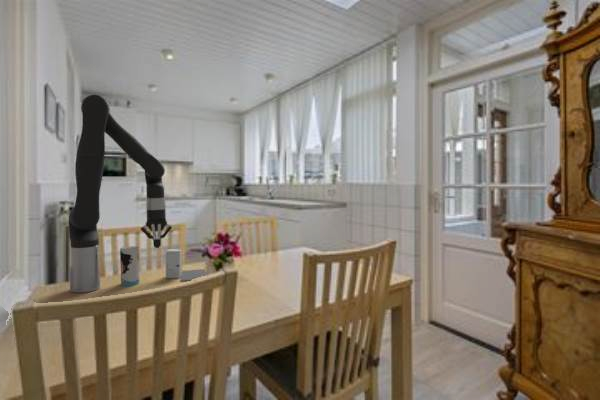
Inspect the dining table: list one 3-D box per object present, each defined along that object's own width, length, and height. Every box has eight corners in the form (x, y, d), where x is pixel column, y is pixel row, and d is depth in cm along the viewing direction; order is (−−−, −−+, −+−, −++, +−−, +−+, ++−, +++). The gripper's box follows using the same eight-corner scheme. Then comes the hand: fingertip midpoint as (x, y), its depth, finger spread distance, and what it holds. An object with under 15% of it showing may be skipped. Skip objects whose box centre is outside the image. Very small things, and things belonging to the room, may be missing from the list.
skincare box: (165, 278, 144) (164, 251, 144) (167, 275, 149) (167, 249, 148) (180, 278, 145) (179, 250, 145) (182, 275, 150) (181, 248, 149)
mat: (181, 281, 140) (181, 280, 140) (182, 271, 156) (182, 270, 156) (210, 279, 144) (210, 278, 144) (208, 269, 159) (208, 268, 159)
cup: (134, 280, 142) (134, 245, 141) (142, 283, 138) (141, 247, 137) (118, 283, 137) (117, 248, 136) (125, 287, 132) (124, 250, 132)
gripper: (137, 209, 138) (139, 250, 139) (171, 208, 142) (173, 248, 143) (140, 208, 145) (141, 247, 146) (172, 207, 149) (173, 245, 150)
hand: (157, 247), depth 144 cm, fingers closed
